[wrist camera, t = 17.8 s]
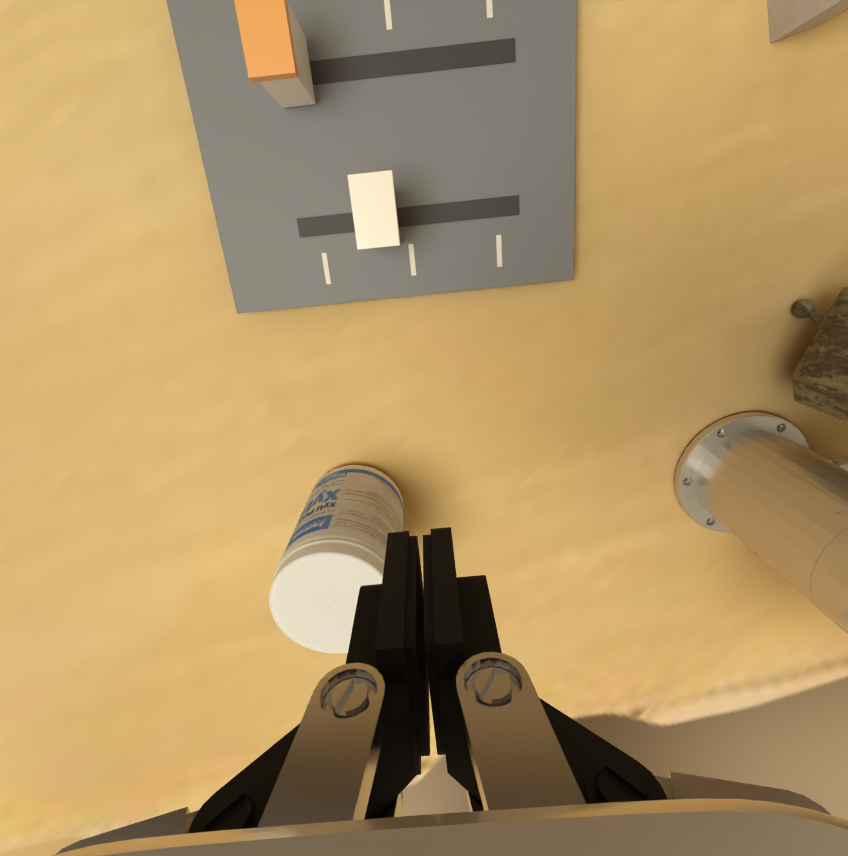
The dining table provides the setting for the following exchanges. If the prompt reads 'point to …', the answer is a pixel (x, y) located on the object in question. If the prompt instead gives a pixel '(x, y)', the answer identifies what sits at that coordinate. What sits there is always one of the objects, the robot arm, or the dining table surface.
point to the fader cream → (374, 209)
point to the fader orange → (275, 50)
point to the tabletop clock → (824, 359)
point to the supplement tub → (335, 556)
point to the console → (390, 147)
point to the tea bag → (800, 15)
